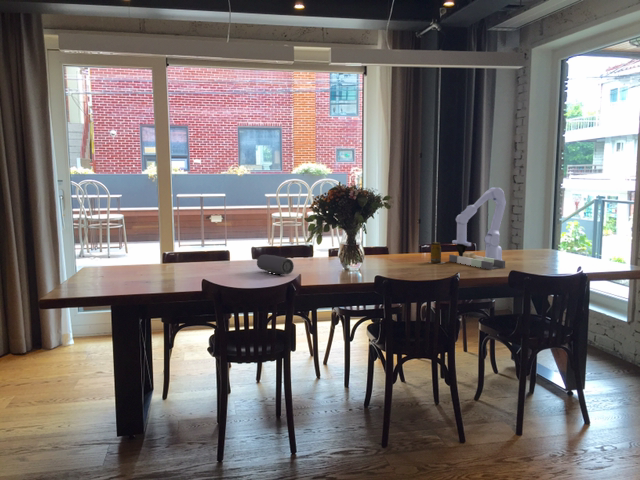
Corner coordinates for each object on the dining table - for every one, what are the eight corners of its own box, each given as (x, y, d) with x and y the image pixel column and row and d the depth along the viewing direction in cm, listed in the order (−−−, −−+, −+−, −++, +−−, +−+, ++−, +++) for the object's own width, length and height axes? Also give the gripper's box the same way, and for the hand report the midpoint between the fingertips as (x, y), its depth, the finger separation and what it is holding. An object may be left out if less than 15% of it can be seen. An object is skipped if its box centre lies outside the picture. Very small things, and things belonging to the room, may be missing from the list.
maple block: (469, 258, 324) (469, 252, 323) (475, 259, 319) (475, 253, 319) (462, 259, 322) (462, 252, 321) (468, 260, 317) (468, 253, 317)
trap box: (463, 259, 333) (463, 253, 333) (505, 267, 303) (505, 260, 302) (449, 261, 328) (449, 254, 328) (490, 269, 298) (490, 262, 298)
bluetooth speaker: (294, 275, 290) (294, 257, 289) (281, 277, 284) (280, 259, 283) (269, 270, 307) (269, 252, 306) (256, 272, 301) (255, 254, 300)
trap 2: (493, 266, 308) (493, 265, 308) (502, 268, 302) (502, 267, 302) (483, 267, 305) (483, 266, 305) (492, 269, 299) (492, 268, 299)
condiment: (435, 261, 329) (435, 241, 328) (446, 262, 323) (446, 242, 321) (427, 262, 325) (427, 242, 323) (438, 264, 318) (438, 244, 317)
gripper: (448, 233, 329) (448, 255, 331) (464, 235, 316) (464, 258, 318) (457, 232, 332) (457, 254, 334) (474, 235, 320) (473, 257, 321)
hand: (461, 256), depth 326 cm, fingers closed
